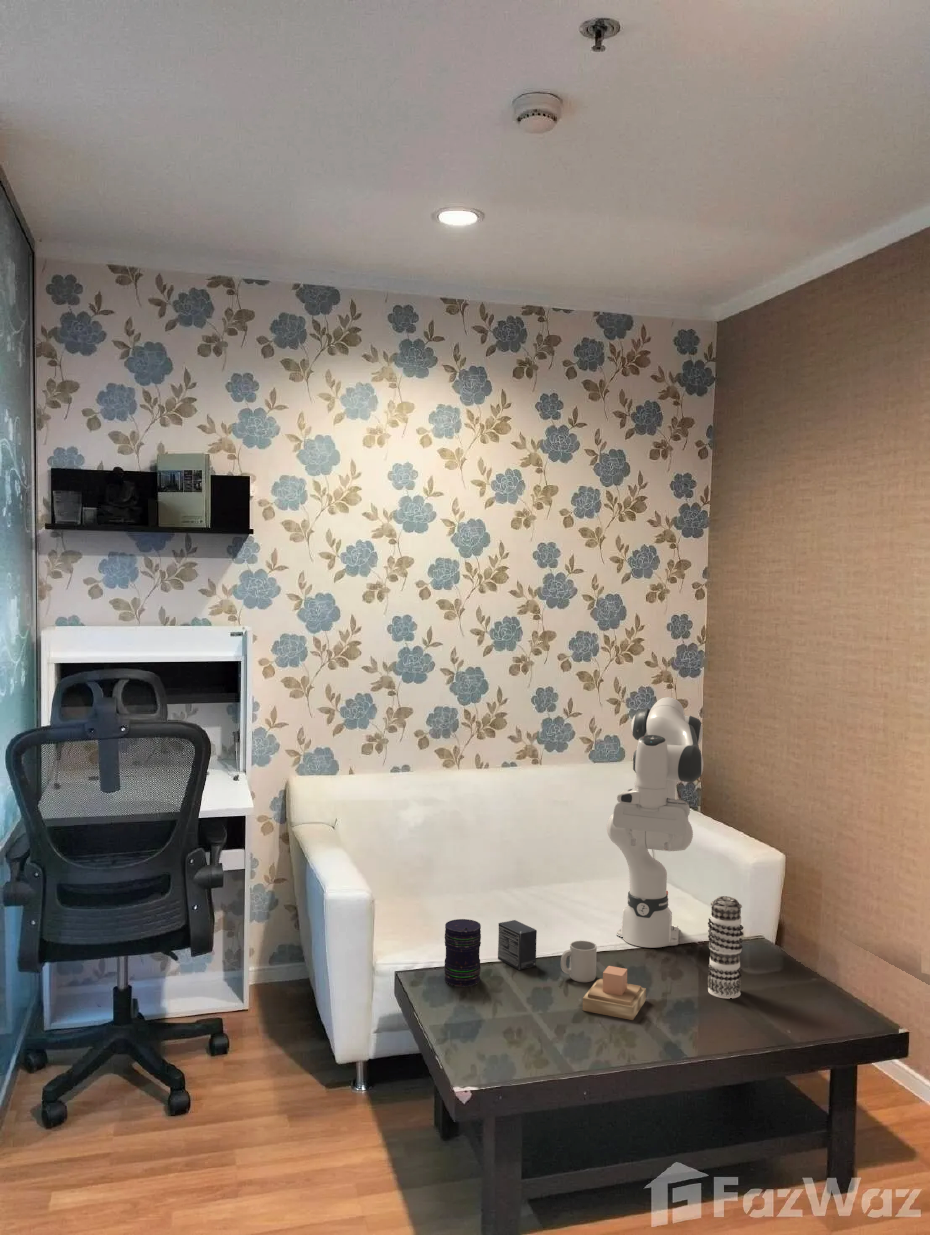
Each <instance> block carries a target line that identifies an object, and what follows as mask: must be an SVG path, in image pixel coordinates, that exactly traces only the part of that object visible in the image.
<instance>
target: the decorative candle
mask: <svg viewBox="0 0 930 1235" xmlns="http://www.w3.org/2000/svg"><path fill="white" fill-rule="evenodd" d="M710 906H711V913H710V917H709V918H708V922H707V926H708V930H707V933H708V935H707V938H708V941H709V943H708V948H709V950H710V956H709V964H707V967H708V970H707V972H708V976H707V986H708V987H707V991H708V993H709V994H710V995H712V996H713V997H715V998H720V999H726V1000H727V999H728V1000H729V999H730V998H732V999H736V998H739V997H740V996H741V994H742V993H741V990H742V987H741V984H742V981H741V977H742V973H741V971H742V967H741V960H740V958H741V957H740V956H741V955H740V954H741V952H742V949H743V945H742V943H743V938H741V937H742V936H743V935H744V932H743V929H744V926H743V925H742V916H741V912H742V911H741V909H742V908H743V905H742V904H741V903H739V901H738V899H736V898H735V897H731V896H725V895H724V896H718V897H715V899H713V900H712V901H711V902H710Z"/></svg>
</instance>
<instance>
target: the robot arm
mask: <svg viewBox="0 0 930 1235" xmlns="http://www.w3.org/2000/svg"><path fill="white" fill-rule="evenodd" d="M684 710H685V709H684V706H683V705H682V703H681V702H680V701H679V700H678V699H676V698H673V697H671V696H666V697H662V698H660V699H658V700H657V701H656V702H655V703H654V704H653V706H652V707H651V708H649V707H646V708H643V709H639V710H638V711H636V712H635V714H634V715H633V717H632V720H631V723H630V729H631V732H632V733H631V734H632V737H633V738H634V739H635V740H636V741H637V747H636V750H635V751H634V752H633V755H632V757H633V758H632V760H633V761H632V769H633V771H634V773H635V774H636V778H635V782H634V787H633V788H630V789H624V790H623V791H621V792H619V793H618V794H617V796H616V800H617V803H616V804H615V805H614V808H613V813H612V814H610V816H609V818H608V820H607V823H606V832H607V835H608V838H609V839H610V841H611V842H612V843H613V844H615V845H616V846H617V847H618V849H619V850H620V851H621V852H622V855H623V856H624V858H625V860H626V863H627V866H628V875H629V876H628V877H629V878H628V880H629V890H628V892H627V897H626V898H627V906H626V907H625V908H623V909H622V917H621V918H622V919H621V928H620V929H619V930H617V931H616V934H618V935H620V936H622V937H623V938H622V939H623V941H625V942H626V943H628V944H630V945H632V946H637V947H642V948H650V949H651V948H656V949H657V948H662V947H663V948H664V947H668V946H678V945H679V937H680V936H679V935H680V927H679V925H677V927H674V926H672V924H673V912H672V910H671V909H670V907H669V898H668V896H669V892H668V889H667V886H668V885H667V884H668V883H667V880H668V872H667V870H666V867H665V865H663V864H662V863H661V862H660V861H659V860H657V859H656V858H654V857H653V856H652V855H651V853H650V852H649V850H654V851H655V850H656V851H664V852H679V851H685V850H686V849H687V848H688V847H689V846H690V845H691V843H692V841H693V837H694V836H693V835H694V832H693V831H694V830H693V826H692V824H691V823H690V821H689V816H690V809H691V808H690V805H689V803H688V802H687V801H685V800H684V799H676V789H677V784H678V783H677V782H678V781H681V782H686V783H694V782H696V781H697V780H698V779H699V778H701V776H702V774H703V771H704V757H703V754H702V752H701V749H700V747H699V744H700V743H701V741H702V739H703V733H704V729H703V726H702V722H701V720H700V719H699V718H698V717H695V716H691V715H690V716H688V715H685V711H684ZM678 927H679V928H678Z"/></svg>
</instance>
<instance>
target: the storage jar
mask: <svg viewBox="0 0 930 1235" xmlns="http://www.w3.org/2000/svg"><path fill="white" fill-rule="evenodd" d="M444 926H445V928H444V929H445V930H444V946H445V958H444V966H443V967H444V968H443V970H444V981H445V983H446V982H447V983H446V984H448V983H449V984H448V985H450V984H451V985H450V986H453V985H455V986H454V987H463V988H464V987H465V986H466V987H472V986H475V985H477V984H478V983H479V982H480V981H481V977H480V975H481V959H480V947H481V944H482V942H481V939H482V936H481V935H482V934H481V933H482V932H481V927H482V925H481V923H480V922H478V921H476V920H473V919H465V918H460V919H458V918H457V919H452V920H449V921H447V922H446V923H445V925H444ZM476 983H477V984H476ZM474 984H475V985H474Z"/></svg>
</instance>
